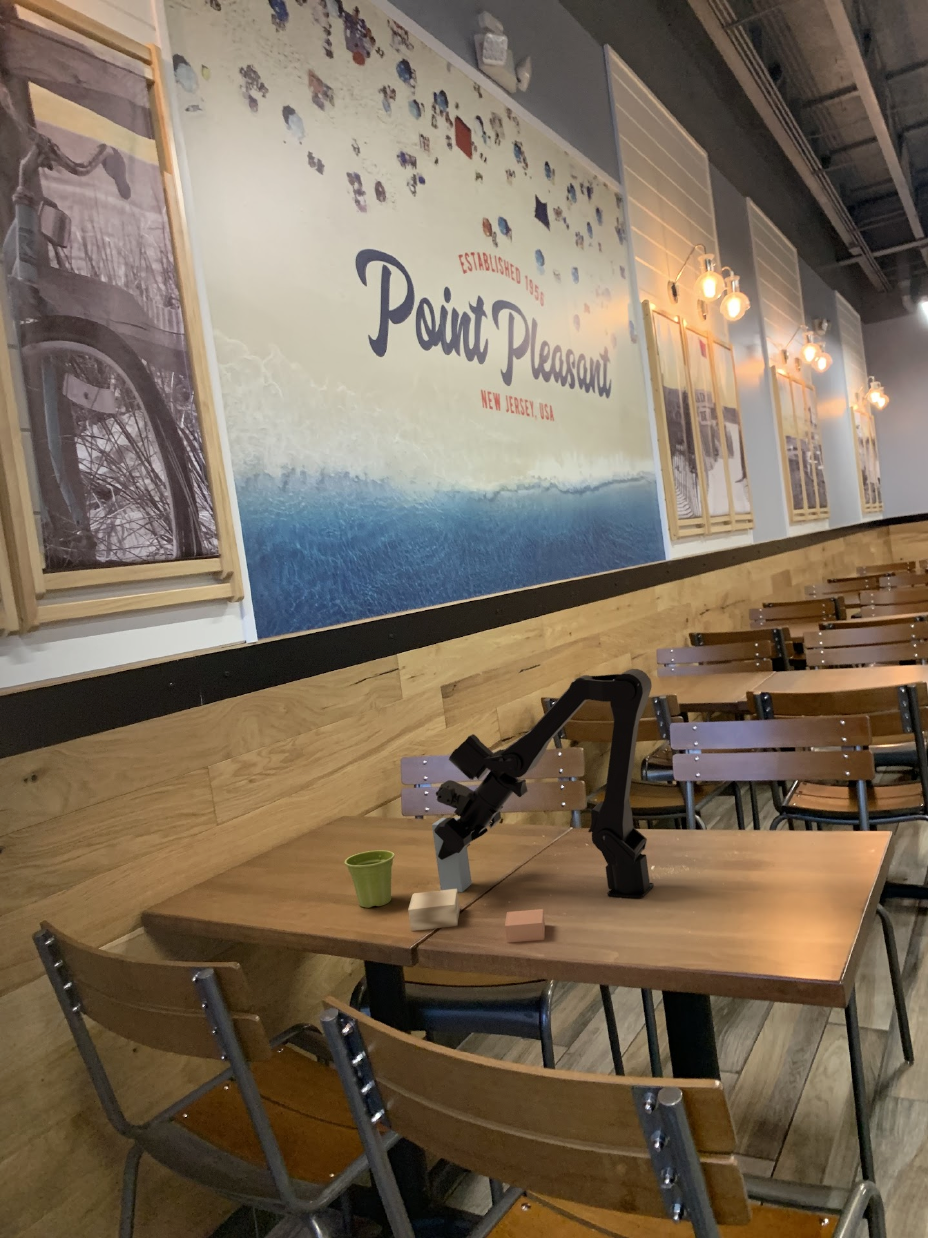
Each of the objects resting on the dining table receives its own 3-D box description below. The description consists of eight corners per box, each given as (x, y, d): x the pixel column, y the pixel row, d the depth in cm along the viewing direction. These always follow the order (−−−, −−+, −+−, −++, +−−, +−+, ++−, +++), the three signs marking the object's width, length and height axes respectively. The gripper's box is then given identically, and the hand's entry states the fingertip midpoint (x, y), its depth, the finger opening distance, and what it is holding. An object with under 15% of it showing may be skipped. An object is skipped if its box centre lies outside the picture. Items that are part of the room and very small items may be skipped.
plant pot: (375, 891, 182) (369, 848, 182) (410, 896, 176) (404, 852, 176) (340, 908, 175) (334, 863, 174) (375, 914, 169) (369, 868, 168)
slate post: (471, 883, 179) (463, 817, 178) (462, 892, 175) (453, 824, 174) (450, 883, 180) (442, 818, 180) (440, 891, 176) (431, 824, 176)
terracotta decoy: (545, 926, 153) (543, 909, 153) (544, 941, 147) (542, 922, 147) (509, 929, 154) (507, 912, 154) (507, 944, 148) (504, 926, 148)
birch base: (459, 910, 166) (457, 888, 166) (457, 927, 158) (454, 904, 158) (415, 915, 166) (412, 893, 166) (411, 932, 158) (408, 909, 158)
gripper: (478, 756, 183) (436, 811, 188) (437, 779, 166) (392, 840, 172) (520, 794, 180) (476, 849, 185) (482, 822, 163) (435, 882, 169)
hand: (445, 854), depth 178 cm, fingers closed on slate post, 4 cm apart
